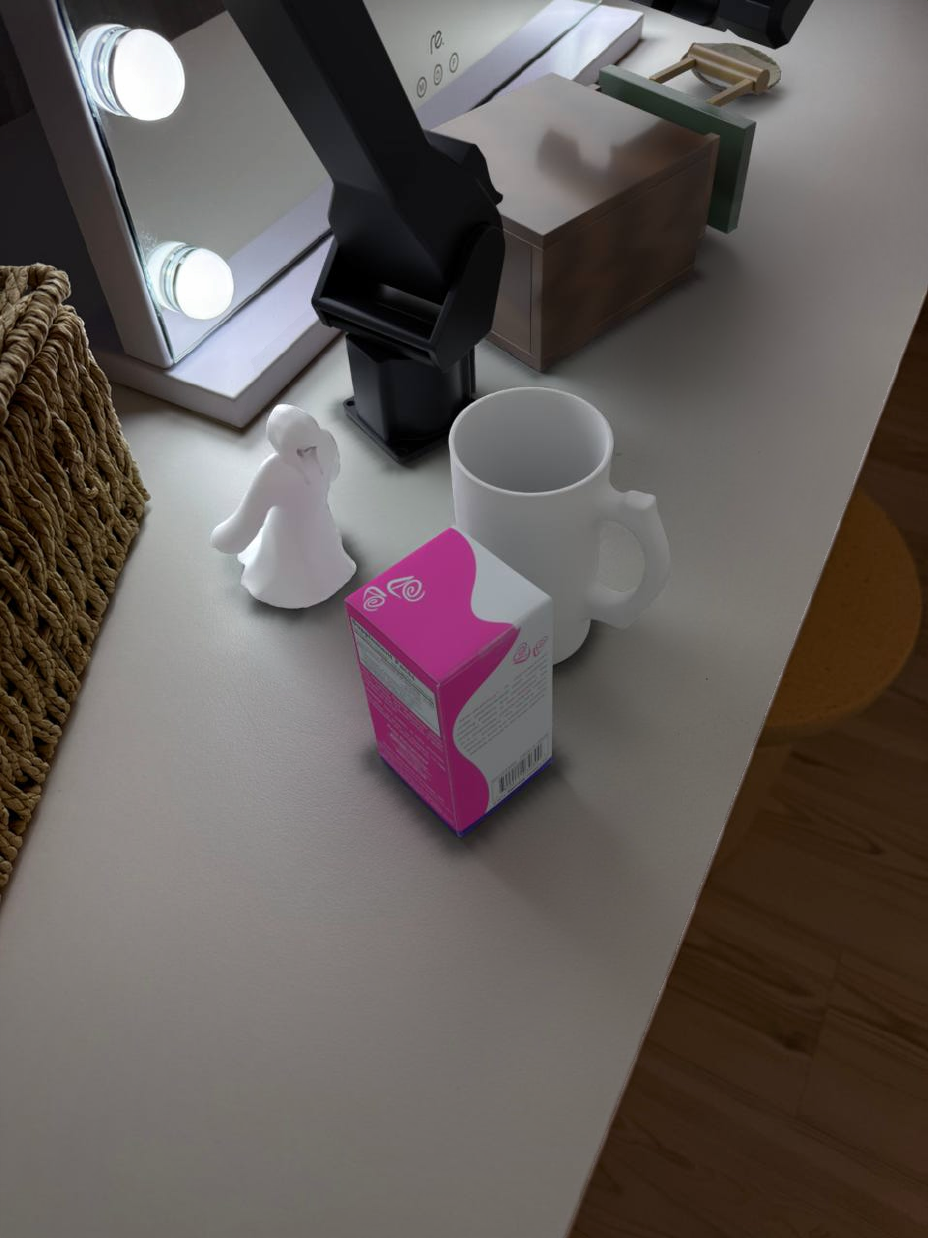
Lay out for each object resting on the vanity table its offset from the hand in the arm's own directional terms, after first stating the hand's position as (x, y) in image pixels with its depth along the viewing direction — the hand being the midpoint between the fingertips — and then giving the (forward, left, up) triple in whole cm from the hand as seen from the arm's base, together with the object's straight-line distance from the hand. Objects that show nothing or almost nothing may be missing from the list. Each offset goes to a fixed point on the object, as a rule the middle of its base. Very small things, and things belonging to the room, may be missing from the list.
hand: (725, 23), depth 68 cm
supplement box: (-44, -29, -12) cm, 53 cm away
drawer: (-8, -1, -10) cm, 13 cm away
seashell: (+13, +10, -12) cm, 20 cm away
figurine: (-44, -14, -12) cm, 47 cm away
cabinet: (-17, -2, -11) cm, 20 cm away
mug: (-36, -26, -12) cm, 45 cm away
